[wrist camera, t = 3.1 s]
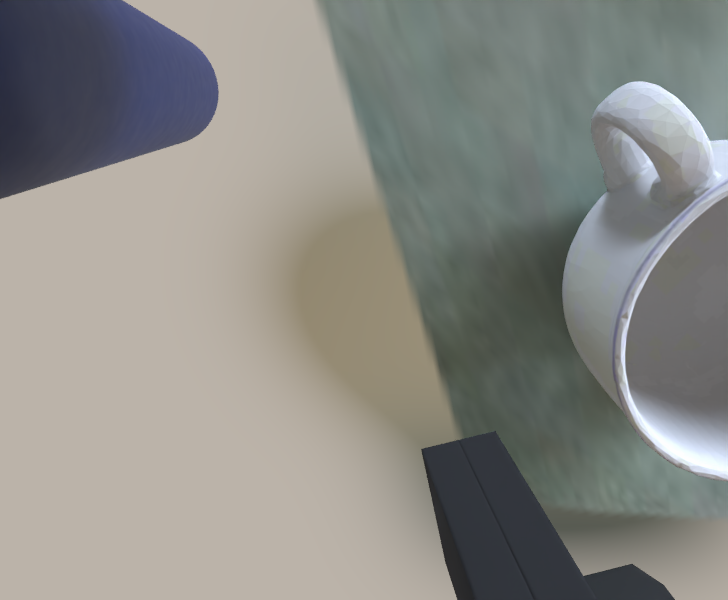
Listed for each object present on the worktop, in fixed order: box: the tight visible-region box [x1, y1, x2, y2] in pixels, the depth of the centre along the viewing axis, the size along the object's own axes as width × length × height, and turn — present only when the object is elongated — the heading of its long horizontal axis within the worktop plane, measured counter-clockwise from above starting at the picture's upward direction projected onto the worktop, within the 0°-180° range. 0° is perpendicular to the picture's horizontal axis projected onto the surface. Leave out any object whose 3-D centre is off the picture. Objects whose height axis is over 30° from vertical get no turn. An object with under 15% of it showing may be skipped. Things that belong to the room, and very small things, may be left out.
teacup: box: [562, 81, 728, 481], centre depth 22 cm, size 14×11×8 cm
